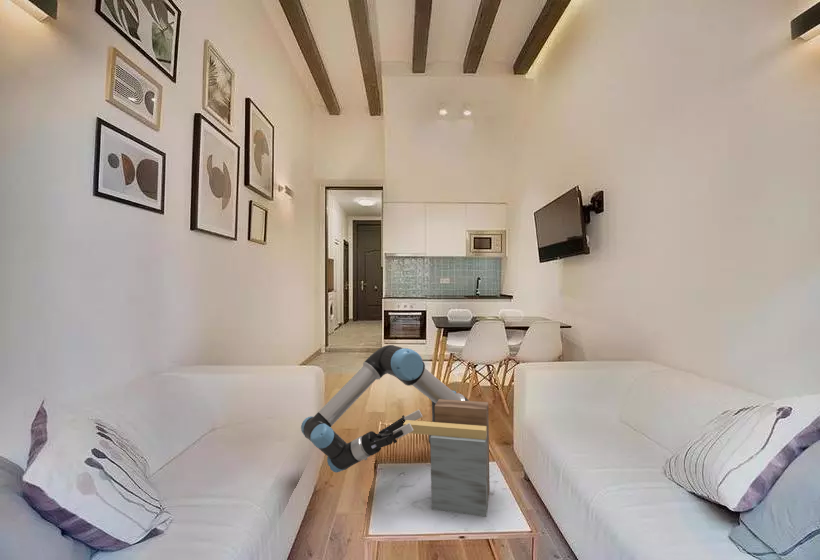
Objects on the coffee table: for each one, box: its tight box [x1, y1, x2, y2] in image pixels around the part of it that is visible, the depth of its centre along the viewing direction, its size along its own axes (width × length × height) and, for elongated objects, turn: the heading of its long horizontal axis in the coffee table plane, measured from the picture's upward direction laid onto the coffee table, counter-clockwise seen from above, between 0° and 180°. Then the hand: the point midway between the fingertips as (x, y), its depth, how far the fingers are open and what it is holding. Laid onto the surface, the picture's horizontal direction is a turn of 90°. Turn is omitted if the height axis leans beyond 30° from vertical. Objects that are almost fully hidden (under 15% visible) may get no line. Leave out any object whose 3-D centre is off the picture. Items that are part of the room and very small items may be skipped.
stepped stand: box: [429, 399, 491, 517], centre depth 139 cm, size 16×18×32 cm
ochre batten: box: [403, 420, 487, 440], centre depth 136 cm, size 4×28×3 cm, turn 75°
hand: (416, 419), depth 139 cm, fingers open, 13 cm apart
